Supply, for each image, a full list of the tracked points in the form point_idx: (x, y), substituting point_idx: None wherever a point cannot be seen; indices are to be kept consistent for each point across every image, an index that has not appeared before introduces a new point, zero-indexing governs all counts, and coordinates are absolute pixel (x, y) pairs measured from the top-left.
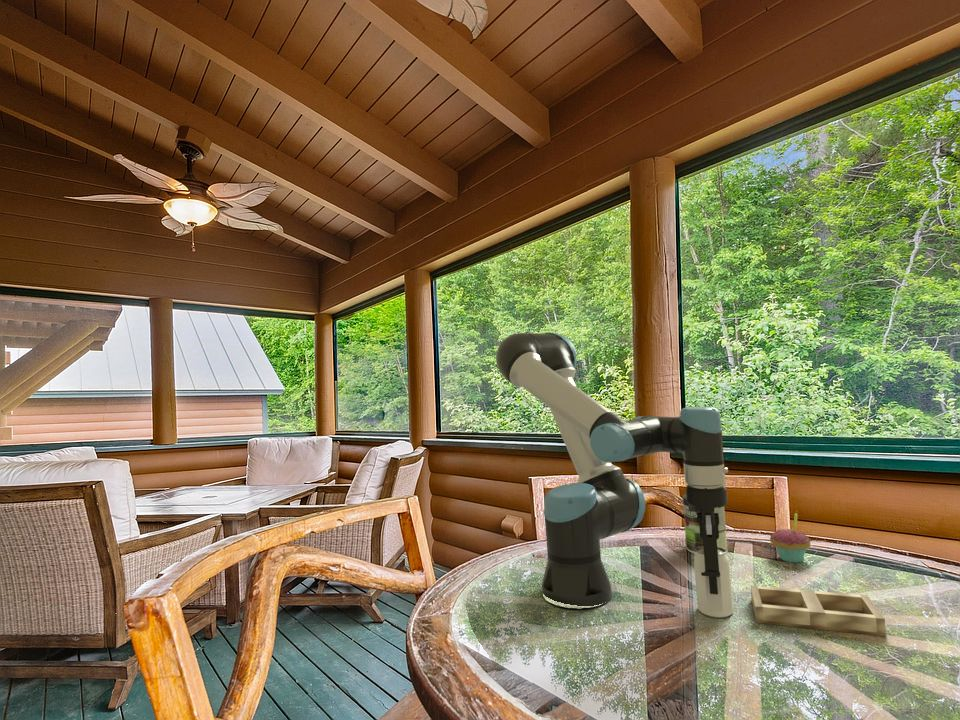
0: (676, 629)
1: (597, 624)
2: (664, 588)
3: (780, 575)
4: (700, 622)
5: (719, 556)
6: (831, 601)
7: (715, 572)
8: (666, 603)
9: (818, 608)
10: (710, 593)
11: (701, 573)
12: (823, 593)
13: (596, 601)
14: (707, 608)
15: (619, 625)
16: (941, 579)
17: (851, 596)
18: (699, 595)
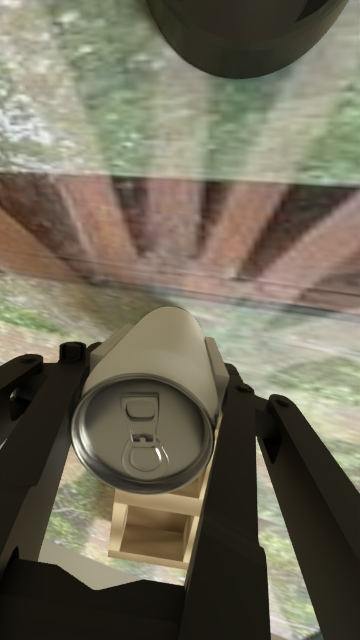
0: (78, 248)
1: (61, 38)
2: (291, 246)
3: None
4: (117, 301)
5: (86, 453)
6: (190, 518)
7: (13, 393)
8: (202, 241)
9: (131, 499)
10: (97, 343)
11: (62, 344)
12: (195, 525)
13: (155, 3)
14: (126, 323)
15: (68, 108)
16: (299, 636)
17: (185, 552)
18: (147, 316)
